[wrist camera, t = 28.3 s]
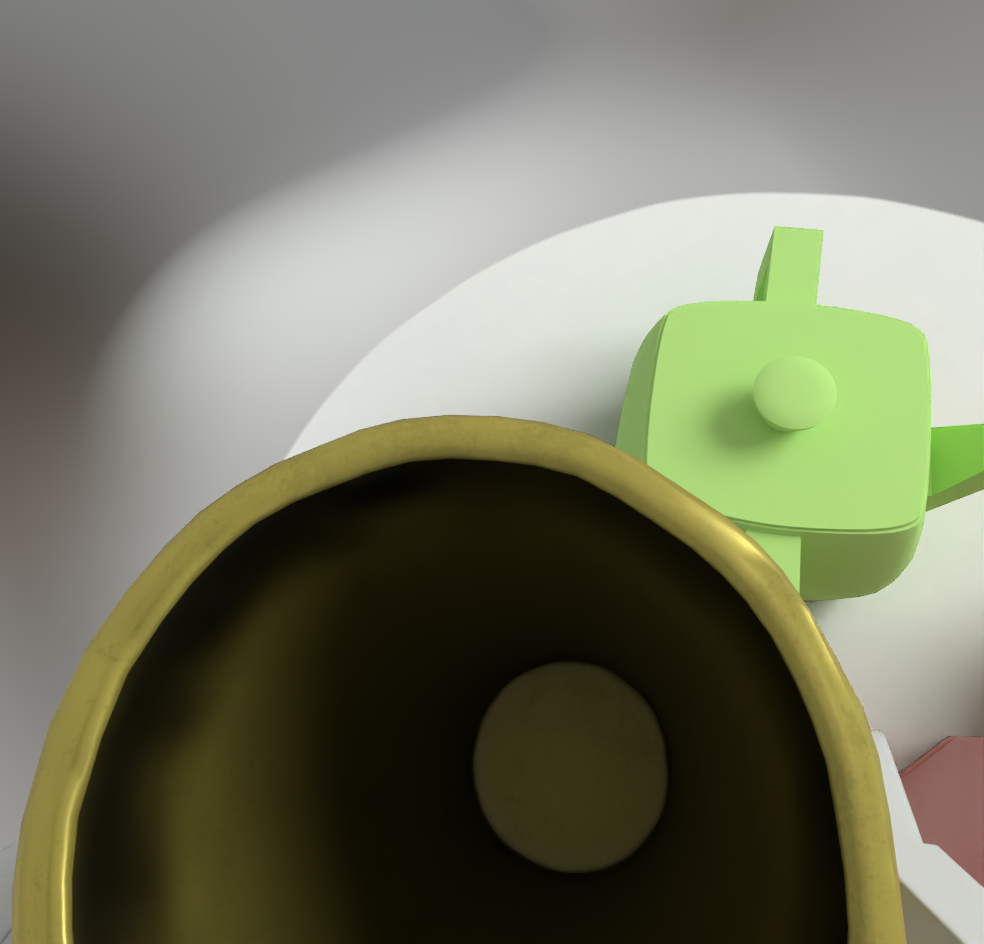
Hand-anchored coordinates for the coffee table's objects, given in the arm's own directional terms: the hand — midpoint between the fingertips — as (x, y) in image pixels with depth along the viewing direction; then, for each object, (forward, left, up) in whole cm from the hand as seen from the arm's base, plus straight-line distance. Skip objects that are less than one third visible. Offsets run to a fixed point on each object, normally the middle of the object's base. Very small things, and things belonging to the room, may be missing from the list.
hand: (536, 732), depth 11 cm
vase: (0, 0, -8) cm, 8 cm away
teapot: (+16, +4, -32) cm, 36 cm away
